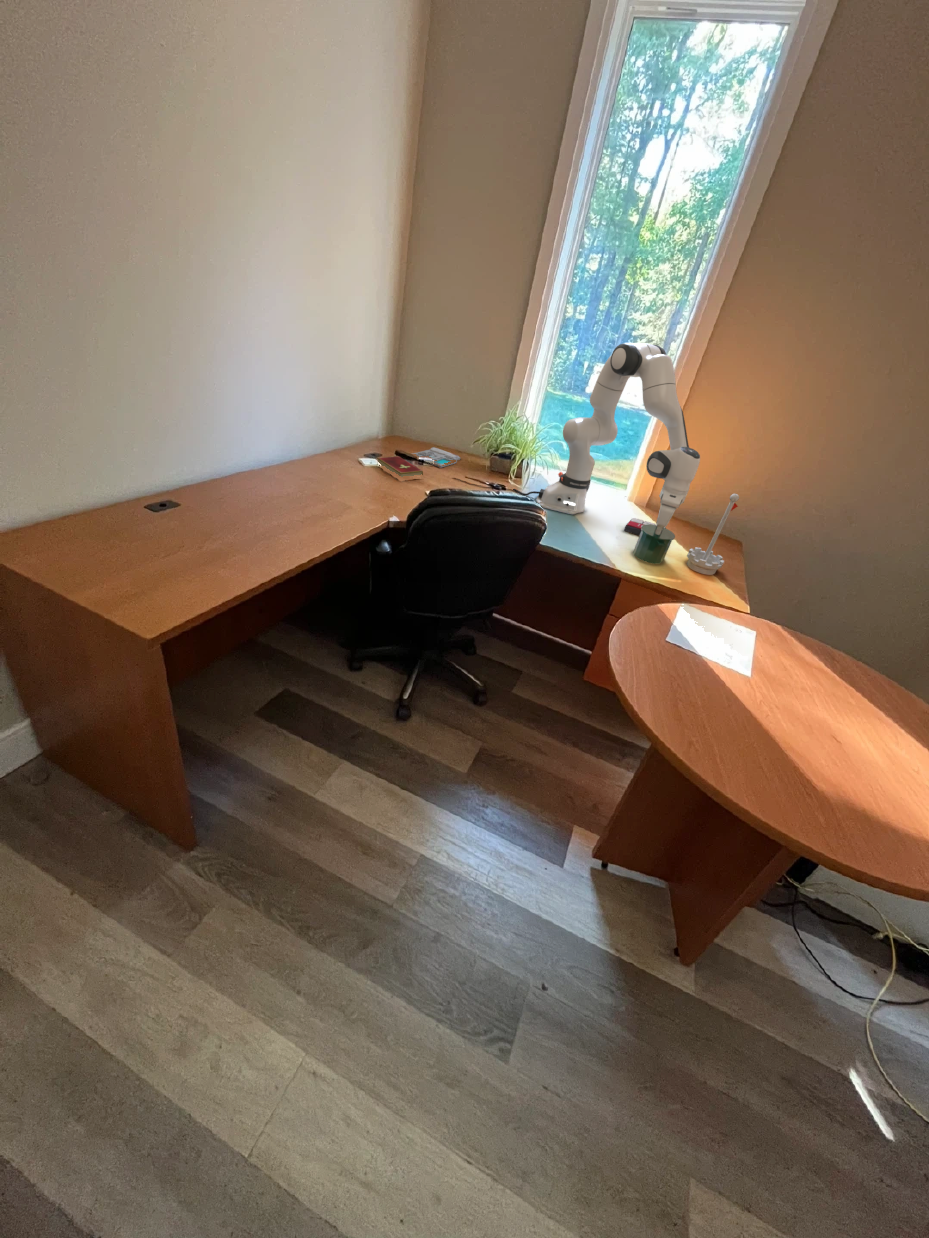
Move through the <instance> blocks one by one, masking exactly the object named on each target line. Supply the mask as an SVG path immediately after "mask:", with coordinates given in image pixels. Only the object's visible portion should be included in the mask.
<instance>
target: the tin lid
mask: <svg viewBox="0 0 929 1238" xmlns="http://www.w3.org/2000/svg"><path fill="white" fill-rule="evenodd" d="M657 526H658V525H643V526H642V527H641V530H642V532H643V533H644V534H646V535H648V536H650V537H652V538H655V539H658V540H664V541H671V540H672V541H673V540H675V538H676V535H675V533H674V532H673V531H671V530H670V529H668V528H667V527H665V528H664V527H663V529H662V531H661V533H660V535H657V534H655V532H656V529H657Z"/></svg>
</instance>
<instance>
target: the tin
mask: <svg viewBox="0 0 929 1238" xmlns="http://www.w3.org/2000/svg"><path fill="white" fill-rule="evenodd" d="M672 542H673V540H671V541H664V540H658V539H655V538H652V537H650V536H648V535H646V534H644V533H643V532H642V530H641V533H640V536H638V539H637V540H636V544H635V546H634V548H633V552H632V553H633V556H634V557H635V558H637V559H639V560H640V561H642V562H645V563H648V564H654V565H660V564H661V563H664V561H665V558H666V556H667V553H668V551H669V549H670V546H671V544H672Z"/></svg>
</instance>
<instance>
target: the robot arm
mask: <svg viewBox="0 0 929 1238" xmlns="http://www.w3.org/2000/svg"><path fill="white" fill-rule="evenodd" d="M630 378H640V380H641V385H642V386H641V388H642V389H641V390H642V402H643V403H642V404H643V407H644V409H645V411H646V412H647V414H648V415H650V416H652V417H654V418H656V419H658V420H659V421H660V422H661V423H663V425H664V426H665V427H666V430H667V436H668V442H669V447H670V448H669V449H663V450H662V449H661V450H660V449H659V450H656V451H655V450H654V451H653V452H652V453H651V454H649V456H648V458H647V460H646V471H647V473H648V475H649V476H650V477H653V478H655V479H661V480H664V482H663V485H662V487H661V490H660V492H659V495H658V496H659V499H660V501H659V504H660V507H659V511H658V515H657V517H656V518H657V519H656V523H655V524H656V525H658V526H657V529H656V532H655V534H657V535H660V533H661V531H662V529H663V527H665V528H667V526H668V525H669V524H670V521H671V519H672V518H673V516H674V514H675V512H676V510H677V509H679V508H680V506H681V505H683V504H684V503H685V500H686V498H687V495H688V494H689V492H690V486H691V483H692V482H693V481H694V479H695V477H696V474H697V472H698V469H699V465H700V463H701V454H700V453H699V452H698V451H697V450H695V449H694V448H691V447H690V445H689V440H688V433H687V427H686V426H687V425H686V419H685V415H684V412H683V409H682V406H681V404H680V401H679V398H678V393H677V382H676V373H675V368H674V363H673V360H672V358H671V357H670V356H669V355H667V353H666V350H665V349H664V348H663V347H661V346H660V345H658V344H652V343H647V342H630V341H629V342H623V343H620V344H618V345H617V346H616V347H615V348H614V349H613V351H612V353H611V354H610V356H609V357H608V358H607V360H606V361H605V363H604V365H603V366H602V368H601V371H600V373H599V374H598V377H597V380H596V382H595V383H594V386H593V389H592V392H591V394H590V396H589V403H590V406H591V407H592V408H593V413H592V416H591V417H586V416H585V417H583V416H581V417H580V416H579V417H575V418H570V419H568V420H566V422H565V423H564V426H563V428H562V436H563V437H562V438H563V440H564V441H565V443H566V444H567V446H568V451H569V457H568V461H567V466H566V470H565V472H564V473H563V472H562V471H559V472H558V474H557V475H558V477H559V479H558V481H556V482H554V483H552V484H550V485H547V486H546V487H545V488H540V490H539V491H533V490H532V491H529V492H527V493H526V492H525V493H524V492H522V491H519V489H516V488H514V489H513V490H512V491H514V492H516V493H518V494H519V495H521V496H525V497H526V496H530V495H533V494H536V495H537V494H538V495H537V497H536V499H535V500H536V504H537V503H539V504H540V505H541V506H542V507H541V508H542V509H547V510H552V511H555V512H559V513H563V514H568V515H575V514H580V513H583V512H585V510H586V498H587V493H588V491H589V489H590V486H591V481H592V479H591V477H592V475H593V471H594V469H595V468H594V467H595V462H596V461H595V459H594V457H593V456H592V455H591V447H592V446H604V445H608V444H612V443H613V442H614V441H615V440H616V438H617V436H618V431H619V429H618V425H617V423H616V420H615V415H616V409H617V406H618V404H619V401H620V399H621V397H622V395H623V392H624V389H625V388H626V385H627V382H628V381H629V380H630Z"/></svg>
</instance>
